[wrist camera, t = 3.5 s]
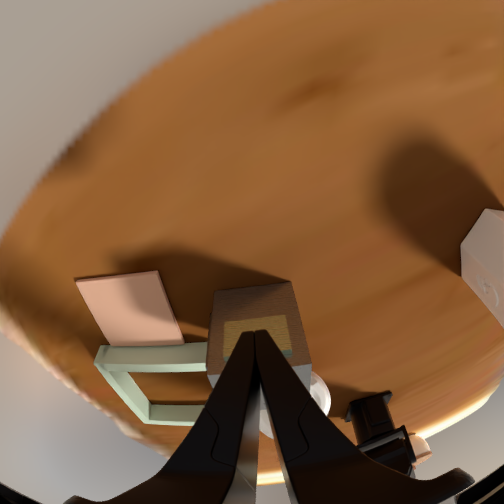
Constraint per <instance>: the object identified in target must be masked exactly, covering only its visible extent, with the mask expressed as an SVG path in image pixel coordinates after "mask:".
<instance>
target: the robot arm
mask: <svg viewBox="0 0 504 504" xmlns="http://www.w3.org/2000/svg"><path fill="white" fill-rule="evenodd" d="M261 389H262V393H263V398H264V402H265V406H266V410H267V414H268V418H269V422H270V426H271V430H272V434H273V438H274V442H275V446H276V449H277V453H278V457H279V461H280V465H281V469H282V472H283V476H284V480H285V484H286V487H287V490H288V495H289V498H290V502H291V504H504V464H503V465H502V466H500V467H499V468H497V469H496V470H495V471H493V472H492V473H490V474H489V475H487V476H486V477H485V478H483V479H482V480H480V481H479V482H477V483H475V484H474V485H472V484H473V483H474V482H475V480H474V479H473V477H472V476H470V475H469V474H467V473H466V472H465V471H463V470H461V469H460V468H455V469H453V470H451V471H449V472H447V473H445V474H443V475H441V476H439V477H437V478H434V479H432V480H418V479H415V473H414V470H413V466H412V464H413V463H415V462H417V460H416V457H415V453H414V450H413V447H412V444H411V442H410V439H409V436H408V433H407V431H406V428H405V425H402V426H401V427H400V428H397V429H396V428H395V425H394V423H393V420H392V417H391V414H390V411H389V409H388V406H387V404H388V402H389V400H390V398H391V397H392V392H387V393H384V394H380V395H377V396H373V397H370V398H366V399H362V400H358V401H354V402H351V403H350V405H349V408H348V411H347V414H346V417H345V419H344V420H345V422H350V421H352V424H353V428H354V432H355V435H356V439H357V443H358V445H357V446H355V445H354V444H353V443H352V442H351V441H350V440H349V439H348V438H347V437H346V436H345V435H344V434H343V433H342V432H341V431H340V430H339V429H338V428H337V427H336V426H335V425H334V423H333V422H332V421H331V420H330V419H329V418H328V417H327V416H326V414H325V413H324V412H323V411H322V409H321V408H320V407H319V405H318V404H317V402H316V401H315V400H314V398H313V397H312V396H311V394H310V393H309V391H308V390H307V388H306V387H305V385H304V384H303V383H302V381H301V380H300V378H299V377H298V375H297V374H296V372H295V371H294V370H293V368H292V367H291V365H290V364H289V362H288V361H287V359H286V358H285V356H284V355H283V353H282V352H281V350H280V349H279V347H278V346H277V344H276V343H275V341H274V340H273V338H272V337H271V335H270V334H269V332H268V331H267V330H266V329H261V330H255V332H254V331H244V332H242V333H241V335H240V337H239V339H238V341H237V343H236V345H235V347H234V349H233V351H232V353H231V355H230V357H229V359H228V361H227V363H226V365H225V367H224V368H223V370H222V372H221V374H220V376H219V378H218V380H217V382H216V384H215V386H214V388H213V390H212V392H211V394H210V396H209V398H208V399H207V401H206V403H205V405H204V407H205V408H203V409H202V411H201V413H200V414H199V416H198V418H197V420H196V422H195V423H194V425H193V427H192V428H191V430H190V431H189V433H188V434H187V436H186V437H185V439H184V440H183V441H182V443H181V444H180V445H179V447H178V448H177V449H176V451H175V452H174V453H173V455H172V456H171V457H170V459H169V460H168V461H167V463H166V464H165V465H164V466H163V468H162V469H161V470H160V471H159V472H158V473H157V474H156V475H154V476H153V477H152V478H150V479H148V480H147V481H145V482H143V483H141V484H139V485H138V486H136V487H134V488H132V489H130V490H128V491H126V492H124V493H122V494H121V495H119V496H117V497H115V498H112V499H110V500H107V501H102V502H95V501H91V500H88V499H85V498H82V497H79V496H76V495H74V496H72V497H71V498H70V499H68V500H67V501H65V502H64V503H63V504H255V502H256V484H257V465H258V446H259V425H260V402H261ZM403 437H405V439H402V438H403ZM470 485H472V486H471V487H469V486H470ZM468 487H469V488H468ZM466 488H468V489H466ZM464 489H466V490H464ZM463 490H464V491H463ZM461 491H462V492H461ZM459 492H461V493H459ZM458 493H459V494H458ZM456 494H457V495H456ZM455 495H456V496H455ZM0 504H42V503H40V502H38V501H36V500H34V499H31V498H29V497H27V496H25V495H23V494H21V493H19V492H17V491H16V490H14V489H12V488H10V487H8V486H6V485H4V484H3V483H1V482H0Z"/></svg>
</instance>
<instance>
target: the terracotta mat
mask: <svg viewBox="0 0 504 504" xmlns="http://www.w3.org/2000/svg"><path fill="white" fill-rule="evenodd" d="M76 284H77V286H78V288H79V290H80V292H81V294H82V296H83V298H84V300H85V302H86V304H87V306H88V307H89V309H90V311H91V313H92V315H93V317H94V318H95V320H96V322H97V324H98V325H99V327H100V329H101V330H102V332H103V334H104V335H105V337H106V339H107V340H108V342H109V343H110V345H111V346H160V345H182V344H184V342H185V341H184V338H183V336H182V334H181V331H180V329H179V326H178V324H177V321H176V319H175V316H174V314H173V311H172V308H171V306H170V303H169V301H168V298H167V295H166V293H165V290H164V287H163V284H162V281H161V279H160V276H159V273H158V271H149V272H141V273H133V274H124V275H116V276H107V277H98V278H90V279H81V280H77V281H76Z"/></svg>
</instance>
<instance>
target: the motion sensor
mask: <svg viewBox="0 0 504 504" xmlns="http://www.w3.org/2000/svg"><path fill="white" fill-rule="evenodd" d="M310 394H311V396H312V397H313V398H314V400H315V401H316V402H317V404H318V405H319V407H320V408H321V409H322V411H323V412H324V413H325V414H326V416H327V414H328V412H329V409H330V405H331V398H330V393H329V390H328V388H327V386H326V384H325V383H324V381H323V380H322V379H321V378H320V377H319V376H318V375H317V374H316V373H314V372H313V371H311V384H310ZM259 430H260V431H261V432H263V433H264V434H265V435H267V436H268V437H270V438H272V439H274V438H273V434H272V430H271V426H270V422H269V418H268V414H267V410H260V425H259Z"/></svg>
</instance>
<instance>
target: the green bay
mask: <svg viewBox="0 0 504 504" xmlns="http://www.w3.org/2000/svg"><path fill="white" fill-rule="evenodd" d="M206 353H207V342H198V343H184V344H182V345H160V346H111V345H100V348H99V350H98V353H97V355H96V358H95V360H94V365H95V366H96V367H97V369H98V370H99V371H100V372H101V374H102V375H103V376H104V378H105V379H106V380H107V381H108V383H109V384H110V385H111V386H112V388H113V389H114V390H115V391H116V392H117V394H118V395H119V396H120V397H121V398H122V399H123V401H124V402H125V403H126V404H127V405H128V406H129V407H130V408H131V410H132V411H133V412H134V413H135V414H136V415H137V416H138V417H139V418H140V419H141V420H142V421H143V422H144V423H146V424H160V425H185V426H193V425H194V423H195V422H196V420H197V418H198V416H199V414H200V413H201V411H202V409H203V408H205V407H204V405H152V404H151V403H150V402H149V400H148V399H147V398H146V397H145V395H144V394H143V393H142V391H141V390H140V389H139V387H138V386H137V385H136V383H135V382H134V381H133V379H132V378H131V376H130V375H129V374H128V372H192V371H207V370H206V368H205V364H206Z"/></svg>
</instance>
